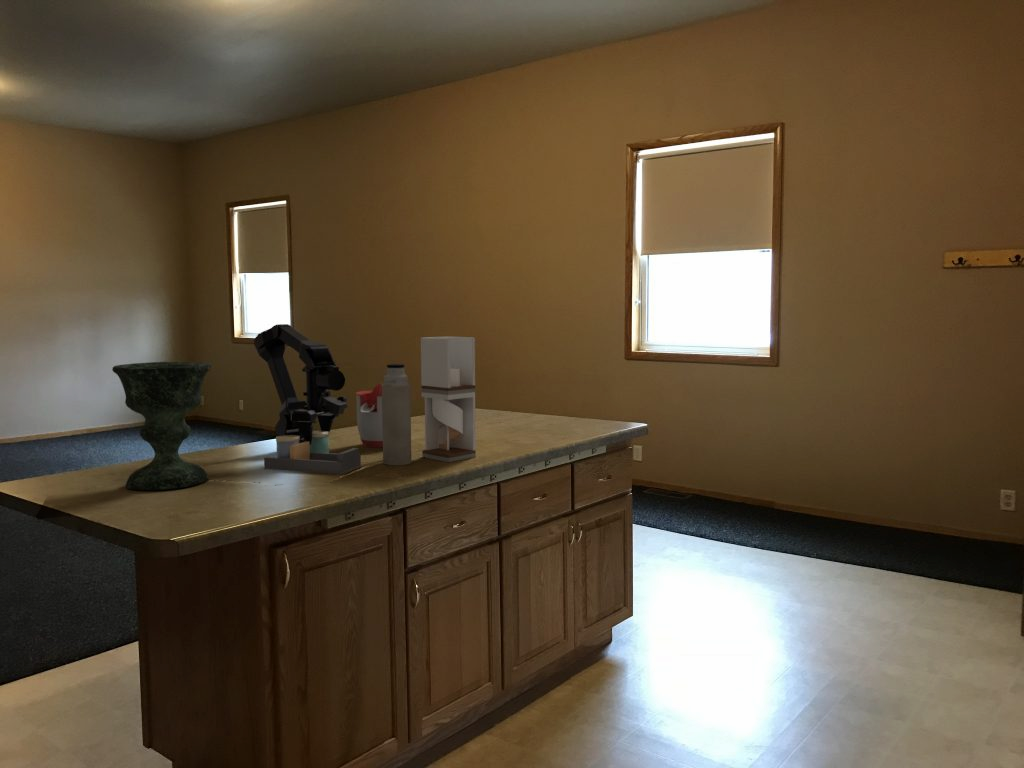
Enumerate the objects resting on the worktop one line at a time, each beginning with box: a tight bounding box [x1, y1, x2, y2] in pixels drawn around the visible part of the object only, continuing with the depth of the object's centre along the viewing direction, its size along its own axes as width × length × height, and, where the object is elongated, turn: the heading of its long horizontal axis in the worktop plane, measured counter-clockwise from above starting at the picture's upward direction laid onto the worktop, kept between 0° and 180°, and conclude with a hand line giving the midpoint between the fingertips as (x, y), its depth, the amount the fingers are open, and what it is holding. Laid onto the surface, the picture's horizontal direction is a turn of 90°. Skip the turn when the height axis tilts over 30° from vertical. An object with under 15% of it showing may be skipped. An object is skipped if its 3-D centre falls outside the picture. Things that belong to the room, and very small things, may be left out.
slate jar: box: [275, 435, 300, 458], centre depth 225 cm, size 6×6×8 cm
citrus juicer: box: [355, 382, 383, 448], centre depth 261 cm, size 16×17×20 cm
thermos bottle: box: [382, 363, 412, 466], centre depth 232 cm, size 8×8×28 cm
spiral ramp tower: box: [420, 336, 477, 463], centre depth 240 cm, size 11×11×35 cm
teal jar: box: [309, 430, 330, 453], centre depth 238 cm, size 6×6×8 cm
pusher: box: [290, 441, 310, 460], centre depth 224 cm, size 1×8×6 cm, turn 163°
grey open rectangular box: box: [263, 447, 362, 477], centre depth 223 cm, size 23×11×6 cm, turn 73°
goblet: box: [112, 361, 212, 491], centre depth 206 cm, size 22×22×30 cm
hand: (317, 441), depth 238 cm, fingers open, 9 cm apart
